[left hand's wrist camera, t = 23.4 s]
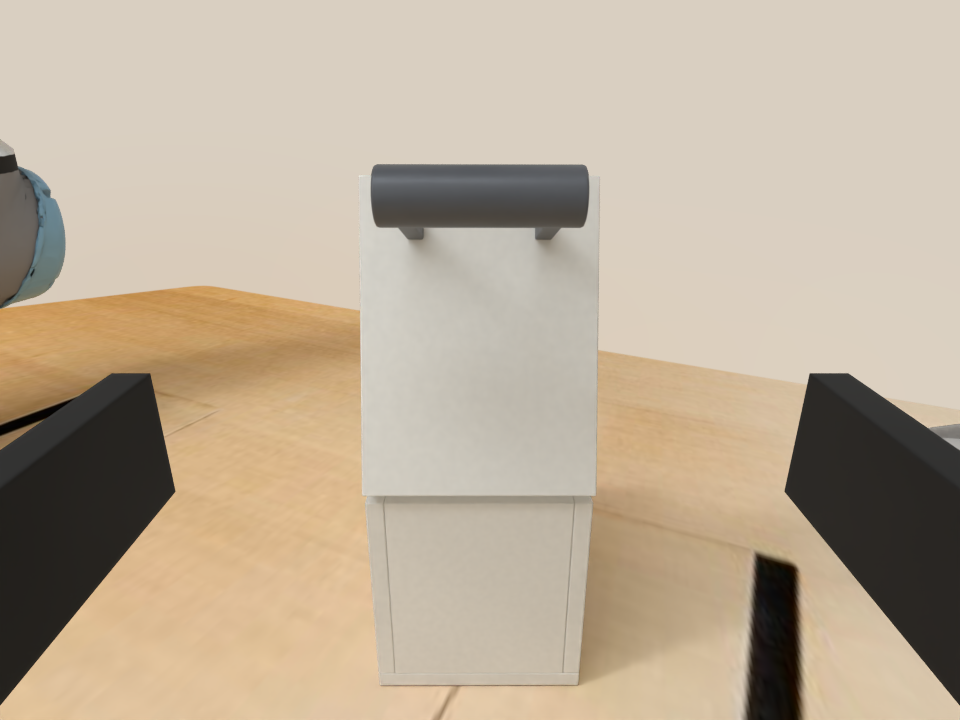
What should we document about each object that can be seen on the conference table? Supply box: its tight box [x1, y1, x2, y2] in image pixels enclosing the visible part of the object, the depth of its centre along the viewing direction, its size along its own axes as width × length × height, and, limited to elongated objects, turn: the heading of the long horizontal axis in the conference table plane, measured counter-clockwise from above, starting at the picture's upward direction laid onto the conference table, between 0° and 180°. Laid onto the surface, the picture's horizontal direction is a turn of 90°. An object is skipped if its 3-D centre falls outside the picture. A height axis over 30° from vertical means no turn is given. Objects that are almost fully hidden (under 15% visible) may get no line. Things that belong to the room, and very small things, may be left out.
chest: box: [365, 496, 593, 685], centre depth 35 cm, size 13×10×11 cm
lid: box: [359, 164, 600, 496], centre depth 22 cm, size 13×10×9 cm
